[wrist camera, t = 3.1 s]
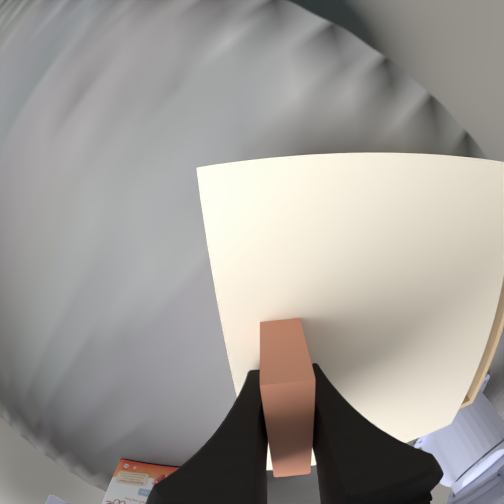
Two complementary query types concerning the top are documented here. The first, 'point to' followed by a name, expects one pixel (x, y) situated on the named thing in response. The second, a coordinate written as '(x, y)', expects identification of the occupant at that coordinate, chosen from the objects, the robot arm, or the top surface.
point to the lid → (355, 284)
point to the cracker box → (134, 482)
